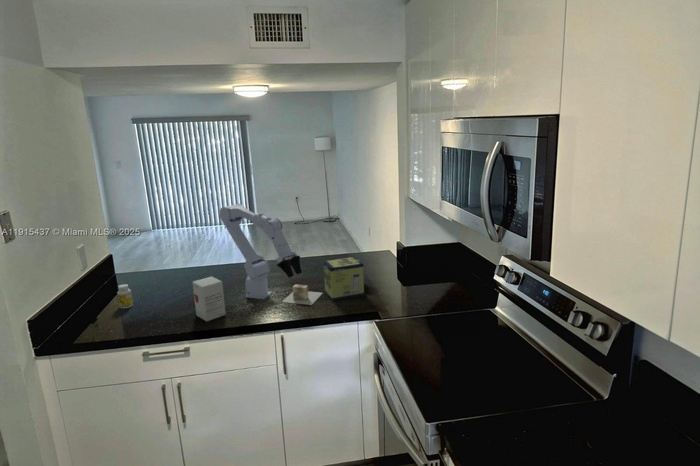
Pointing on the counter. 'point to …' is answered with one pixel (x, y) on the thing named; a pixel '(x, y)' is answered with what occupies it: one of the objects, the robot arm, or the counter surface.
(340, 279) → the protein box
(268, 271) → the robot arm
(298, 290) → the maple block
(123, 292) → the supplement bottle
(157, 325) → the counter surface
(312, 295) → the grey rubber mat
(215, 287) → the supplement box
